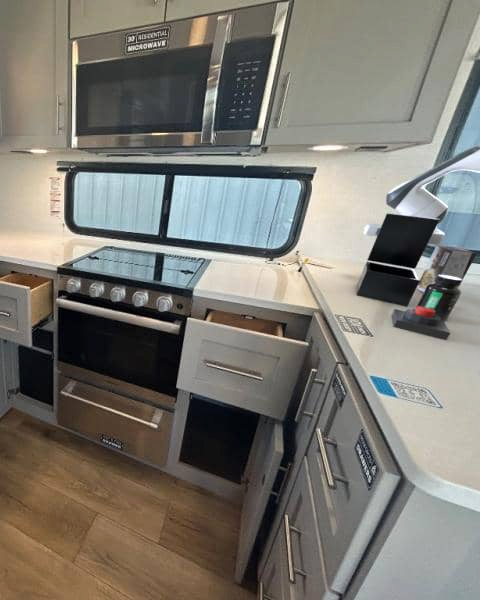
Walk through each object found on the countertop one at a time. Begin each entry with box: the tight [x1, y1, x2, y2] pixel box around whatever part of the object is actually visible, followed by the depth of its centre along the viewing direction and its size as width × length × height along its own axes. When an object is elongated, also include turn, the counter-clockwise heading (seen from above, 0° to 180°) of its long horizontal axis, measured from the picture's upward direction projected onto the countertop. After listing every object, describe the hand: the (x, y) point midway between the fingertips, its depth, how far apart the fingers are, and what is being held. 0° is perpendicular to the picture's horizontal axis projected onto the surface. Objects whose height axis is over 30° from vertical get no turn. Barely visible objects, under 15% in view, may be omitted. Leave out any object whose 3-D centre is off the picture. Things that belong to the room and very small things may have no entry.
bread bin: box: [355, 261, 420, 308], centre depth 109 cm, size 16×13×9 cm
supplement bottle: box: [415, 275, 463, 321], centre depth 94 cm, size 7×7×12 cm
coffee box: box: [416, 245, 478, 293], centre depth 112 cm, size 9×6×16 cm
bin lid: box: [366, 213, 440, 270], centre depth 109 cm, size 16×13×1 cm
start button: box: [414, 305, 436, 317], centre depth 86 cm, size 4×4×2 cm
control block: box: [391, 308, 451, 341], centre depth 87 cm, size 10×10×4 cm
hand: (403, 236), depth 109 cm, fingers closed, pressing on bin lid
